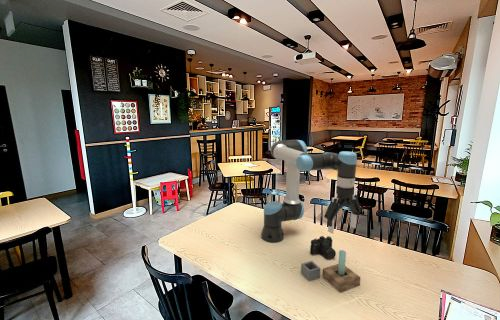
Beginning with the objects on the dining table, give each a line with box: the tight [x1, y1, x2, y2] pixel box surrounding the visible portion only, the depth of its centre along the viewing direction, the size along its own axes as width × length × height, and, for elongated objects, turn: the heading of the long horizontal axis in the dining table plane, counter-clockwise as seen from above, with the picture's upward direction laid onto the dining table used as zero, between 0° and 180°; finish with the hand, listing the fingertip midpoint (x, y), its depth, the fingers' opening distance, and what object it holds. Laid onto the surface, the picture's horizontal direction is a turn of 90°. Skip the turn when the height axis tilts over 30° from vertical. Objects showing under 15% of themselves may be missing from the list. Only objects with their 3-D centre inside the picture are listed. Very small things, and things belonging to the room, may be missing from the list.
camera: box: [309, 235, 337, 260], centre depth 134 cm, size 14×11×10 cm
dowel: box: [337, 249, 347, 277], centre depth 112 cm, size 3×3×16 cm
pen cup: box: [300, 260, 321, 282], centre depth 117 cm, size 7×7×6 cm
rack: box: [321, 263, 361, 294], centre depth 113 cm, size 12×12×5 cm
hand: (342, 229), depth 109 cm, fingers open, 13 cm apart
